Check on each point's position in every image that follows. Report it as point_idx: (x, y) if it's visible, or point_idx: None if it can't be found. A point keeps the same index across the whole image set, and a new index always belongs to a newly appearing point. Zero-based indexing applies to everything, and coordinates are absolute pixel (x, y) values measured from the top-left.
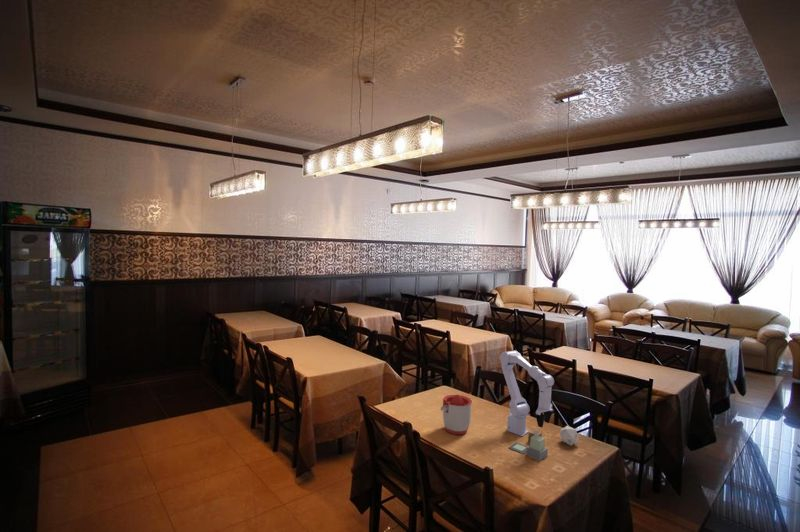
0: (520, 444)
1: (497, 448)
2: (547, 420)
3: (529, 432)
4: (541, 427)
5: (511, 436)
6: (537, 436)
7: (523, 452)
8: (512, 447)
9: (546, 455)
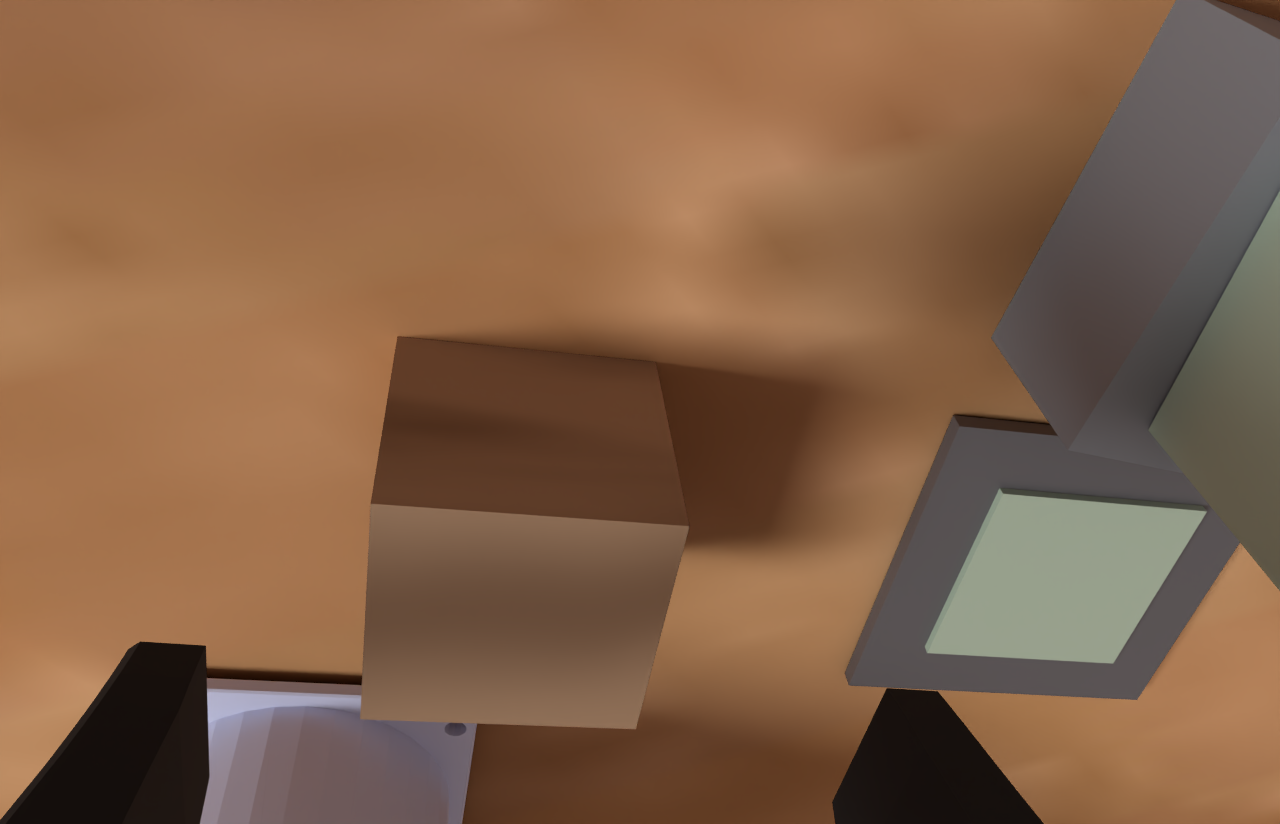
0: (899, 608)
1: (1202, 779)
2: (167, 798)
3: (636, 711)
4: (948, 708)
5: (613, 792)
6: None
7: None
8: (1104, 660)
9: (1244, 12)
